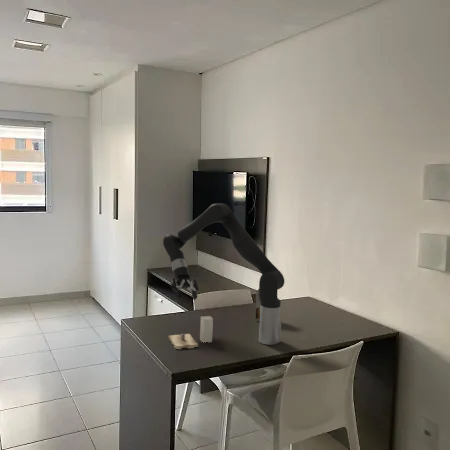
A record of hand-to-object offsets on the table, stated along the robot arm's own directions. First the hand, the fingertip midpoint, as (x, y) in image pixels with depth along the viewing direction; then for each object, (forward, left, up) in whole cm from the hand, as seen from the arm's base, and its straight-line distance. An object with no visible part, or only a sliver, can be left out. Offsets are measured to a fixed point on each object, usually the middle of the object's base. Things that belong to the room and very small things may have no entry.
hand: (188, 298), depth 228 cm
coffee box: (-45, -7, -16) cm, 48 cm away
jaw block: (-5, +15, -16) cm, 22 cm away
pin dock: (+6, +15, -16) cm, 23 cm away
